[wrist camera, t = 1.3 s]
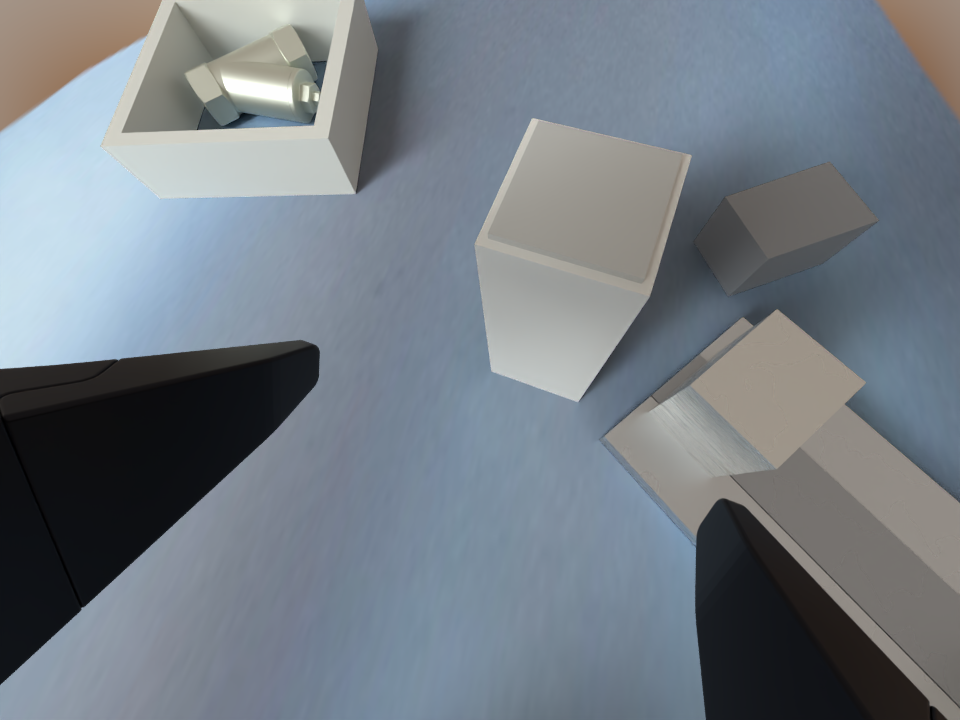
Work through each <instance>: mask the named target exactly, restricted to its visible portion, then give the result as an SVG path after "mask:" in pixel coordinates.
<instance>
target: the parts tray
mask: <svg viewBox="0 0 960 720" xmlns="http://www.w3.org/2000/svg"><path fill="white" fill-rule="evenodd" d="M286 24H290V25H291V26H292V27H293V29H294V30H295V32H296V33H297V35H298V37H299V38H300V40H301V42H302V44H303V46H304V48H305V50H306V51H307V53H308V55H309V57H310V60H311V62H314V61H327V66H326V71H325V76H324V80H323V85H322V90H321V95H320V99H319V104H318V109H317V114H316V118H315V123H314V126H292V127H266V128H240V129H214V130H197V128H198V125H199V122H200V119H201V116H202V113H203V110H204V107H205V106H204V104H203V103H202V101H201V100H200V99H199V97H198V96H197V94H196V93H195V91H194V90H193V88H192V87H191V85H190V83H189V82H188V80H187V78H186V77H185V74H184V73H185V72H186V71H188V70H190V69H192V68H194V67H196V66H198V65H200V64H203V63H209V62H211V61H213V60H215V59H217V58H219V57H222V56H224V55H226V54H228V53H230V52H232V51H234V50H237V49H239V48H241V47H243V46H245V45H247V44H249V43H252V42H254V41H256V40H258V39H260V38H262V37H264V36H267V35H269V32H271V31H273V30H275V29H277V28H280V27H282V26H284V25H286ZM377 54H378V47H377V44H376V40H375V37H374V33H373V30H372V26H371V23H370V19H369V16H368V12H367V9H366V6H365V2H364V0H162V2H161V5H160V7H159V10H158V12H157V14H156V17H155V19H154V21H153V24H152V26H151V29H150V31H149V33H148V35H147V38H146V40H145V42H144V45H143V47H142V49H141V52H140V54H139V57H138V59H137V61H136V64H135V66H134V68H133V71H132V73H131V75H130V78H129V80H128V82H127V85H126V87H125V89H124V92H123V94H122V96H121V99H120V101H119V104H118V106H117V108H116V111H115V113H114V115H113V118H112V120H111V122H110V125H109V127H108V129H107V132H106V134H105V136H104V139H103V141H102V144H101V146H100V147H101V148H103V149H104V150H105V151H106V152H107V153H108V154H109V155H111V156H112V157H113V158H114V159H115V160H116V161H118V162H119V163H120V164H121V165H122V166H123V167H124V168H126V169H127V170H128V171H129V172H130V173H131V174H132V175H134V176H135V177H136V178H137V179H138V180H139V181H140V182H142V183H143V184H144V185H145V186H146V187H147V188H148V189H150V190H151V191H152V192H153V193H154V194H155V195H156V196H158V197H159V198H160V199H181V198H220V197H259V196H298V195H337V194H356V189H357V183H358V176H359V170H360V163H361V157H362V150H363V144H364V137H365V131H366V125H367V118H368V112H369V105H370V99H371V92H372V86H373V79H374V73H375V67H376V60H377Z"/></svg>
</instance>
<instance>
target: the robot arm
mask: <svg viewBox="0 0 960 720" xmlns="http://www.w3.org/2000/svg"><path fill="white" fill-rule="evenodd" d="M319 358H320V351H319V348H318V347H317V346H316V345H314V344H311V343H309V342H306V341H303V340H297V341H287V342H278V343H268V344H258V345H249V346H239V347H229V348H220V349H210V350H200V351H191V352H181V353H171V354H162V355H152V356H142V357H133V358H123V359H120V360H119V361H118V360H117V359H113V360H103V361H93V362H83V363H72V364H61V365H49V366H35V367H22V368H7V369H0V685H1V684H2V683H3V682H4V681H5V680H6V679H7V678H8V677H9V676H11V675H12V674H13V673H14V672H15V671H16V670H17V669H18V668H19V667H20V666H21V665H22V664H24V663H25V662H26V661H27V660H28V659H29V658H30V657H31V656H32V655H33V654H34V653H35V652H37V651H38V650H39V649H40V648H41V647H42V646H43V645H44V644H45V643H46V642H47V641H48V640H50V639H51V638H52V637H53V636H54V635H55V634H56V633H57V632H58V631H59V630H60V629H61V628H63V627H64V626H65V625H66V624H67V623H68V622H69V621H70V620H71V619H72V618H73V617H74V616H76V615H77V614H78V613H79V612H80V611H81V607H85V606H86V605H87V604H88V603H89V602H90V601H91V600H93V599H94V598H95V597H96V596H97V595H98V594H99V593H100V592H101V591H102V590H103V589H104V588H106V587H107V586H108V585H109V584H110V583H111V582H112V581H113V580H114V579H115V578H116V577H117V576H119V575H120V574H121V573H122V572H123V571H124V570H125V569H126V568H127V567H128V566H129V565H130V564H132V563H133V562H134V561H135V560H136V559H137V558H138V557H139V556H140V555H141V554H142V553H143V552H145V551H146V550H147V549H148V548H149V547H150V546H151V545H152V544H153V543H154V542H155V541H157V540H158V539H159V538H160V537H161V536H162V535H163V534H164V533H165V532H166V531H167V530H168V529H170V528H171V527H172V526H173V525H174V524H175V523H176V522H177V521H178V520H179V519H180V518H181V517H183V516H184V515H185V514H186V513H187V512H188V511H189V510H190V509H191V508H192V507H193V506H194V505H196V504H197V503H198V502H199V501H200V500H201V499H202V498H203V497H204V496H205V495H206V494H207V493H209V492H210V491H211V490H212V489H213V488H214V487H215V486H216V485H217V484H218V483H219V482H221V481H222V480H223V479H224V478H225V477H226V476H227V475H228V474H229V473H230V472H231V471H232V470H234V469H235V468H236V467H237V466H238V465H239V464H240V463H241V462H242V461H243V460H244V459H245V458H247V457H248V456H249V455H250V454H251V453H252V452H253V451H254V450H255V449H256V448H257V447H258V446H260V445H261V444H262V443H263V442H264V441H265V440H266V439H267V438H268V437H269V436H270V435H271V434H272V433H273V432H274V431H275V430H276V429H277V428H278V427H279V426H280V425H281V424H282V423H283V422H284V420H285V419H286V418H287V417H288V416H289V415H290V414H291V412H292V411H293V410H294V409H295V408H296V407H297V406H298V405H299V403H300V402H301V401H302V400H303V399H304V398H305V397H306V395H307V394H308V393H309V392H310V391H311V390H312V389H313V388H314V386H315V385H316V383H317V381H318V378H319ZM695 613H696V626H697V636H698V646H699V656H700V666H701V676H702V685H703V695H704V705H705V715H706V720H947V718H946V717H945V716H944V715H943V714H942V713H941V712H940V711H939V710H938V709H937V708H936V707H934V706H930V702H929V700H928V699H927V698H926V696H925V695H924V694H923V693H922V692H921V691H920V690H919V689H918V688H917V687H916V686H915V685H914V684H913V683H912V682H911V681H910V680H909V679H908V677H907V676H906V675H905V674H904V673H903V672H902V671H901V670H900V669H899V668H898V667H897V666H896V665H895V664H894V663H893V662H892V661H891V660H890V659H889V657H888V656H887V655H886V654H885V653H884V652H883V651H882V650H881V649H880V648H879V647H878V646H877V645H876V644H875V643H874V642H873V641H872V640H871V639H870V637H869V636H868V635H867V634H866V633H865V632H864V631H863V630H862V629H861V628H860V627H859V626H858V625H857V624H856V623H855V622H854V621H853V620H852V618H851V617H850V616H849V615H848V614H847V613H846V612H845V611H844V610H843V609H842V608H841V607H840V606H839V605H838V604H837V603H836V602H835V601H834V600H833V598H832V597H831V596H830V595H829V594H828V593H827V592H826V591H825V590H824V589H823V588H822V587H821V586H820V585H819V584H818V583H817V582H816V581H815V580H814V578H813V577H812V576H811V575H810V574H809V573H808V572H807V571H806V570H805V569H804V568H803V567H802V566H801V565H800V564H799V563H798V562H797V561H796V559H795V558H794V557H793V556H792V555H791V554H790V553H789V552H788V551H787V550H786V549H785V548H784V547H783V546H782V545H781V544H780V543H779V542H778V540H777V539H776V538H775V537H774V536H773V535H772V534H771V533H770V532H769V531H768V530H767V529H766V528H765V527H764V526H763V525H762V524H761V523H760V522H759V520H758V519H757V518H756V517H755V516H754V515H753V514H752V513H751V512H750V511H749V510H748V509H747V508H746V507H745V506H744V505H742V504H739V503H736V502H734V501H731V500H728V499H726V498H721V499H718V500H717V501H716V502H715V504H714V505H713V506H712V508H711V509H710V511H709V512H708V514H707V515H706V517H705V518H704V520H703V521H702V522H701V524H700V526H699V528H698V531H697V535H696V583H695Z"/></svg>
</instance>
